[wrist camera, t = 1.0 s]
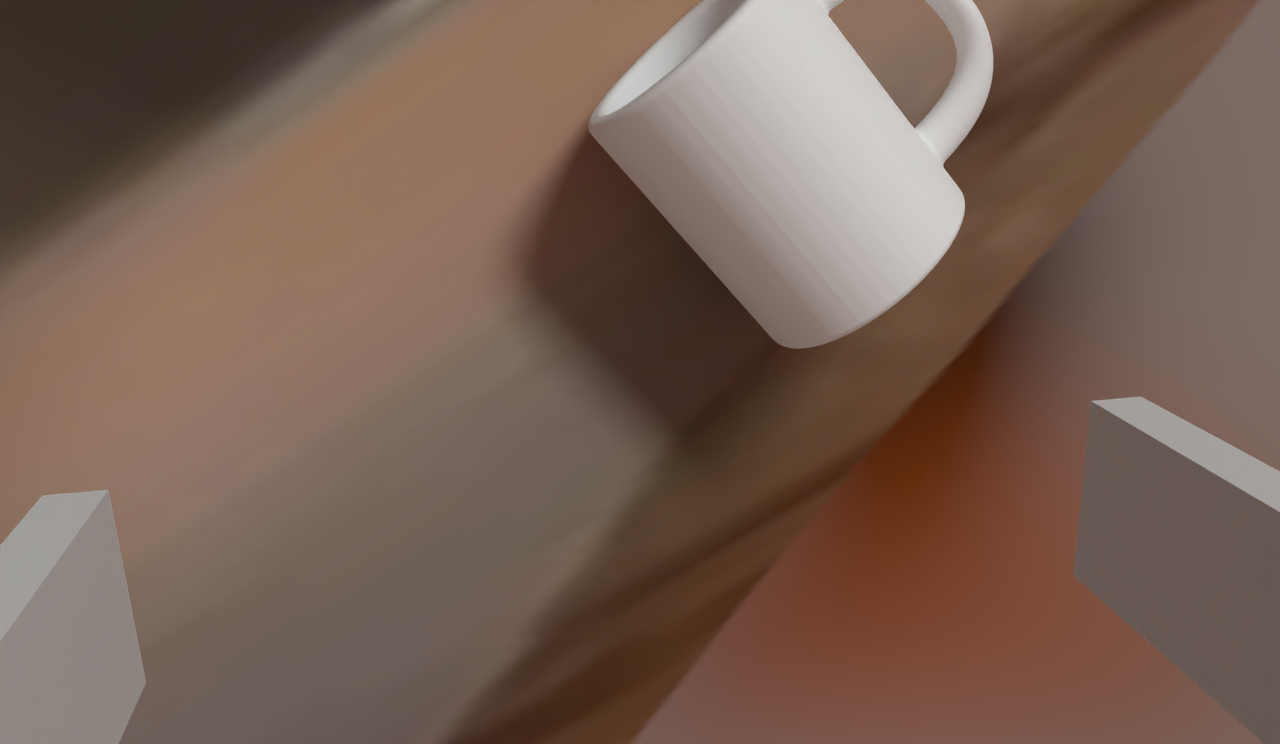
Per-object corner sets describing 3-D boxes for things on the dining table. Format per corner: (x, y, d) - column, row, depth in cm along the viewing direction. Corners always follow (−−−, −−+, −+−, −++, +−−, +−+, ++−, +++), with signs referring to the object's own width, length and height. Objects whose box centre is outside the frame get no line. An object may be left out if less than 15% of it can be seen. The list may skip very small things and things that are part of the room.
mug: (749, 318, 42) (815, 380, 34) (571, 119, 39) (603, 139, 31) (989, 100, 41) (1112, 115, 33) (828, -123, 38) (924, -162, 30)
